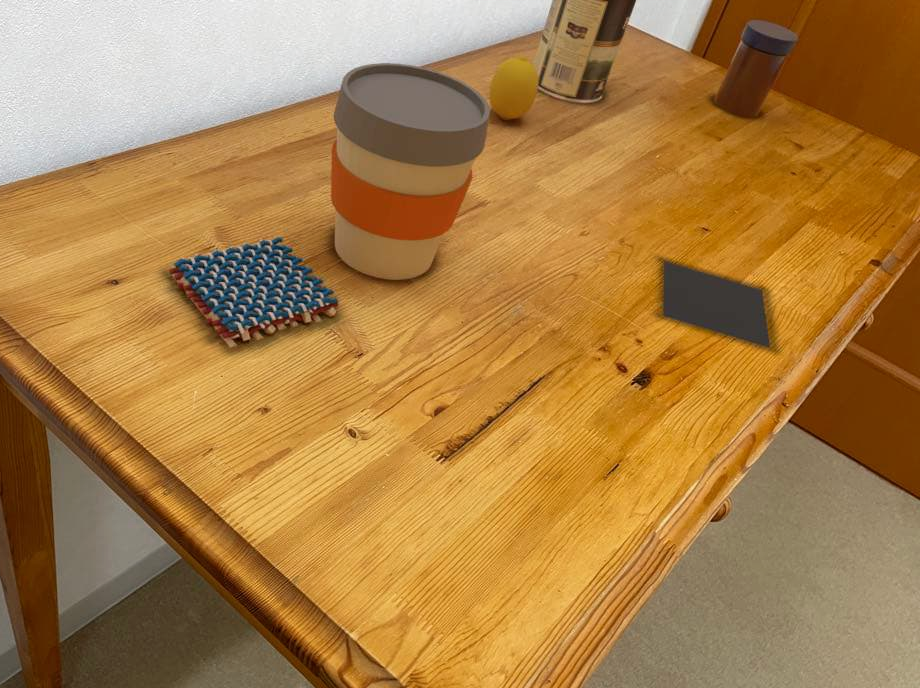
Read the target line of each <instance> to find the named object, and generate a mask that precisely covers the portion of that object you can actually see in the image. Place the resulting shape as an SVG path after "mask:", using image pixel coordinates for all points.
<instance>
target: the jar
mask: <svg viewBox="0 0 920 688" xmlns="http://www.w3.org/2000/svg"><path fill="white" fill-rule="evenodd" d="M788 56H789V55H777V54H771V53H768V52H764V51H761V50H759V49H756V48H754V47H752V46H750V45H748V44H747V43H745V42H744V41H743V40H742V39H741V38H740V41H739V44H738V46H737V48H736V50H735V53H734V55H733V57H732V59H731V61H730V64H729V66H728V67H727V70H726V72H725V75H724V76H723V78H722V81H721V83H720V86H719V87H718V89H717V92H716V94H715V96H714V98H713V103H714V104H715V106H717V107H718V108H720V109H721V110H722V111H725V112H726V113H729V114H731V115H735V116H738V117H741V118H750V119H751V118H756V117H757V116H759V114H760V112H761V110H762V108H763V105H764V104H765V102H766V100H767V98H768V96H769V94H770V92H771V90H772V88H773V86H774V84H775V82H776V80H777V78H778V76H779V73H780V72H781V70H782V68H783V66H784V64H785V62H786V60H787V58H788Z"/></svg>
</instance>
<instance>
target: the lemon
mask: <svg viewBox="0 0 920 688" xmlns="http://www.w3.org/2000/svg"><path fill="white" fill-rule="evenodd" d="M538 90H539V89H538V73H537V70H536V68H535V67H534V63H532V61H530V60H528V57H527V56H525V55H519V56H516V57H515V56H514V57H511V58H509V59H507V60H505V61H503V62H502V63H501V64H500V66H499V67H498V68H497V70H496V71H495V73H494V75H493V77H492V80H491V82H490V87H489V102H490V106H491V108H492V111H494V112H495V113H496V114H497V115H499V117H500V119H502V120H503V121H510V120H515V119H519V118H521V117H523V116H524V115H525V114H527V112H529V111H530V109H531V108H532V107H533V105H534V103H535V100H536V98H537V94H538Z"/></svg>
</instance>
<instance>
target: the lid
mask: <svg viewBox="0 0 920 688" xmlns="http://www.w3.org/2000/svg"><path fill="white" fill-rule="evenodd" d="M741 39H742V40H743V41H744V42H745V43H747V44H748V45H750V46H752V47H754V48H756V49H759V50H761V51H764V52H768V53H771V54H777V55H788V56H790V55H791V53H792V52H793V50H794V48H795V46H796V44H797V42H798V40H799V37H798V35H797V33H795V32H793V31H792V30H790V29H788V28H786V27H785V26H782V25H779V24H776V23H773V22H769V21H765V20H758V19H752V20H748V21H747V23H746V24H745V27H744V29H743V31H742V33H741V36H740V40H741Z"/></svg>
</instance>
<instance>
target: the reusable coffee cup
mask: <svg viewBox="0 0 920 688" xmlns="http://www.w3.org/2000/svg"><path fill="white" fill-rule="evenodd" d="M339 88H340V89H339V92H338V97H337V101H336V104H335V108H334V113H333V120H334V124H335V126H336V139H335V140H334V142H333V143H332V147H331V163H330V164H331V167H330V168H331V169H330V171H331V172H330V199H331V204H332V206H333V208H334V209H335V210H334V211H335V212H334V213H335V215H334V249H335V251H336V253H337V255H338V256H339V258H340V259H341V260H342V261H343V262H344V263H345V264H346V265H348V266H349V267H351V268H352V269H354V270H356V271H357V272H359V273H362V274H364V275H367V276H370V277H374V278H378V279H384V280H391V281H394V280H395V281H398V280H399V281H400V280H401V281H403V280H409V279H413V278H416V277H419V276H422V275H423V274H424V273H426V272H427V271H428V270H429V269H430V268H431V266H432V263H433V262H434V258H435V256H436V254H437V252H438V249H439V246H440V245H441V241H442V240H443V238H444V234H445V233H447V232H448V231H450V230H451V228H452V227H453V225H454V223H455V221H456V218H457V216H458V214H459V211H460V209H461V206H462V204H463V202H464V200H465V197H466V195H467V192H468V191H469V188H470V185H471V183H472V181H473V170H472V168H473V166H474V163H475V160H476V158H478V157H479V156H480V155H481V154H482V153H483V151H484V149H485V147H486V142H487V141H486V140H487V135H488V128H489V122H490V116H491V109H490V105H489V103H488V101H487V99H485V97H484V96H483V95H482V94H481V93H480V92H478V91H477V90H476V89H475V88H473V86H470V85H469V84H467V83H465V82H463V81H462V80H460V79H458V78H456V77H454V76H451V75H448V74H445V73H443V72H440V71H437V70H433V69H430V68H426V67H421V66H416V65H411V64H403V63H391V62H390V63H389V62H382V63H370V64H364V65H360V66H358V67H355V68H352V69H351V70H350V71H348V72H347V73H346V74H345V75H344V76H343V78H342V81H341V84H340V87H339Z"/></svg>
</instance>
